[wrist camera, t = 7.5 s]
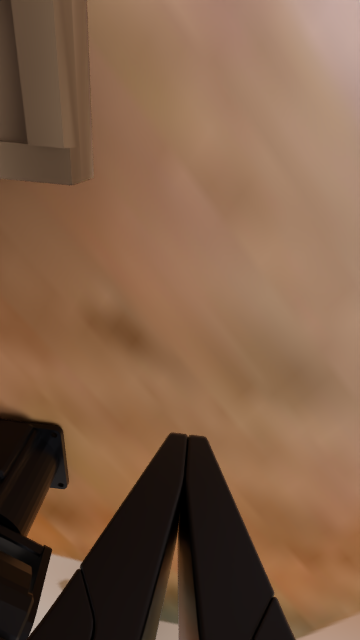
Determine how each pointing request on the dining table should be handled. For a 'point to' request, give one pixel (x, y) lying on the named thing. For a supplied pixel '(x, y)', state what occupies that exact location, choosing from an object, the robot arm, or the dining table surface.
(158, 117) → the dining table surface
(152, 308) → the dining table surface
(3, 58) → the beam
